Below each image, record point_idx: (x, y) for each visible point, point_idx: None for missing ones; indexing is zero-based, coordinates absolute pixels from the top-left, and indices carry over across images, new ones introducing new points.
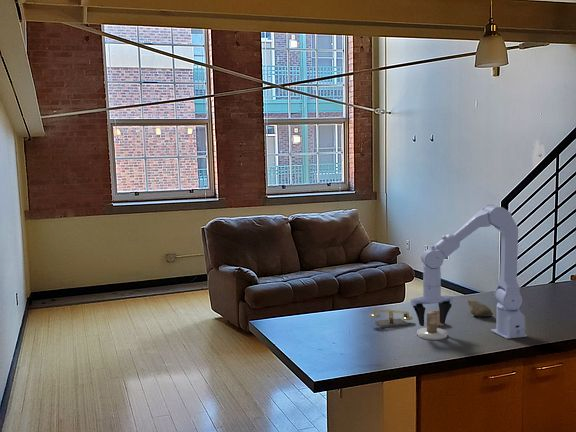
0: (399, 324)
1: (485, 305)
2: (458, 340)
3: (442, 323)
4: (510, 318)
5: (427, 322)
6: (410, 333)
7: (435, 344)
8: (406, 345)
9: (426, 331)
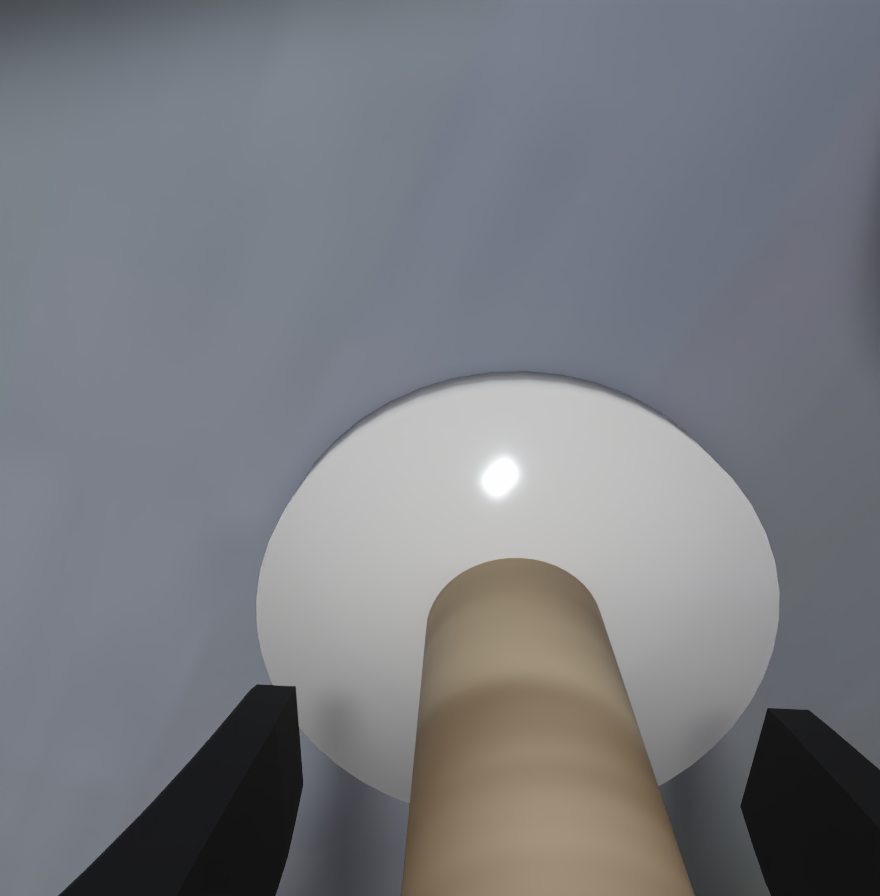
0: None
1: None
2: (711, 861)
3: (746, 809)
4: None
5: (411, 790)
6: (209, 403)
7: (360, 878)
8: (2, 808)
9: (431, 596)
